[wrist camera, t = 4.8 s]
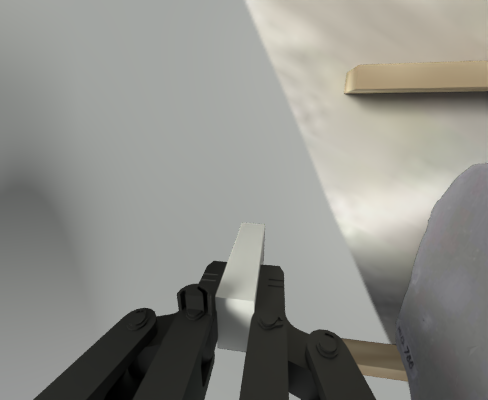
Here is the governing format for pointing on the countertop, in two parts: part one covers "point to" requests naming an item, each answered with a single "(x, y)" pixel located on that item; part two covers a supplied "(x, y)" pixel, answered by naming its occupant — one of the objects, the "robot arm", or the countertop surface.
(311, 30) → the countertop surface
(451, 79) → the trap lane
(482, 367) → the stone block
